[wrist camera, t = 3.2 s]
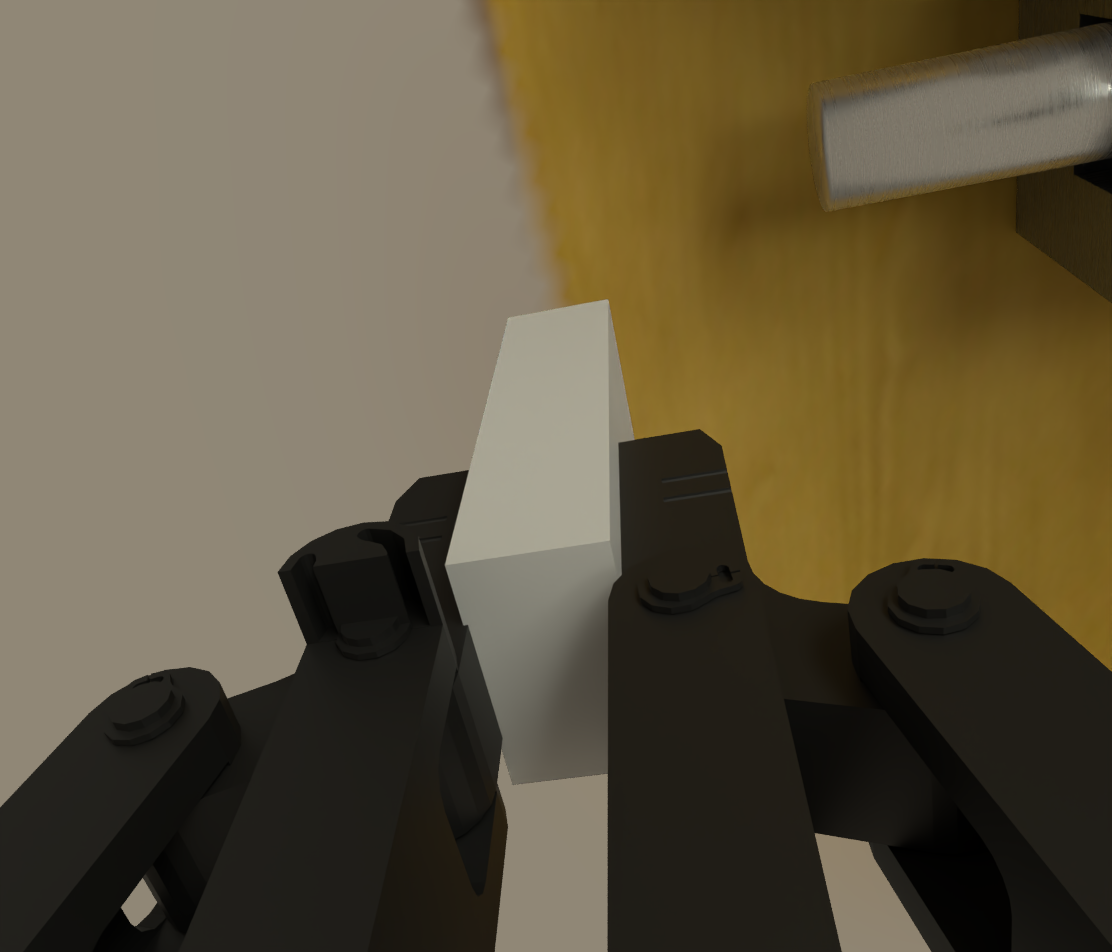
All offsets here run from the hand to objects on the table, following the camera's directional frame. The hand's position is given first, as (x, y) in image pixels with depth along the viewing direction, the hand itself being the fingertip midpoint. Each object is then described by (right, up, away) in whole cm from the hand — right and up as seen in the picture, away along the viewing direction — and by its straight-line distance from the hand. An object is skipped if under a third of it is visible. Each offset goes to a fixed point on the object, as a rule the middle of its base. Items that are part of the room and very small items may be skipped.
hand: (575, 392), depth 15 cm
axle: (+13, +8, +8) cm, 17 cm away
